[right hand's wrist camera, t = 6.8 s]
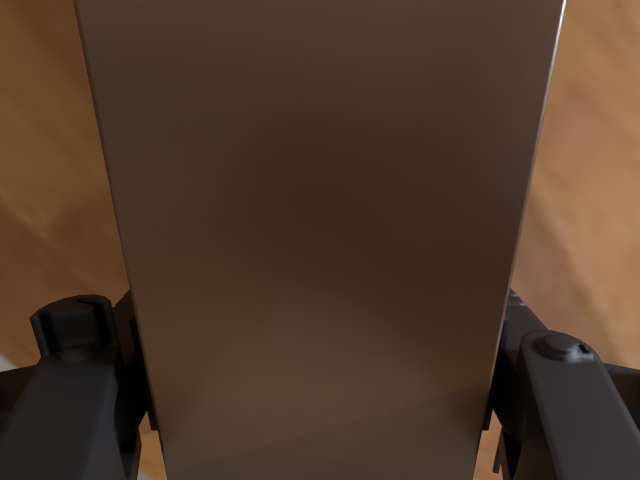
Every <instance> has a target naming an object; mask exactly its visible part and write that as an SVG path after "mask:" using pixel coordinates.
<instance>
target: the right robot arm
mask: <svg viewBox="0 0 640 480" xmlns="http://www.w3.org/2000/svg"><path fill="white" fill-rule="evenodd" d="M30 321H31V325H32V328H33V331H34V334H35V337H36V341H37V344H38V347H39V350H40V354H41V358H40V360H39V362H38V364H37V365H33V366H28V367H23V368H18V369H13V370H8V371H3V372H0V480H137V476H138V468H139V461H140V454H141V446H142V445H141V438H140V433H139V428H138V427H139V425H140V423H141V421H142V419H143V417H144V415H145V413H146V411H147V412H148V417H149V422H150V426H151V430H158V429H157V424H156V419H155V414H154V409H153V403H152V398H151V393H150V388H149V383H148V378H147V373H146V368H145V363H144V358H143V352H142V347H141V342H140V337H139V332H138V327H137V322H136V317H135V312H134V307H133V302H132V296H131V291H130V289H129V290H128V292H127V293H126V294H125V295H124V297H123V298H121V299H120V300H119V302H118V303H117V304H116V307H113V308H112V305H111V301H110V300H109V299H107V298H106V297H105V296H99V295H78V296H73V297H68V298H64V299H61V300H58V301H56V302H53V303H50V304H48V305H46V306H45V307H43V308H41V309H39V310H37V311H36V312H35V313H34V314H33V315H32V316H31V317H30ZM492 410H494V412H495V414H496V415H497V417H498V419H499V421H500V423H501V425H502V428H501V433H500V437H499V442H498V446H497V451H496V456H495V460H494V465H493V473H499V468H500V465H501V467H502V475H503V480H640V370H637V369H632V368H627V367H621V366H616V365H611V364H606V363H602V361H601V359H600V357H599V356H598V354H597V353H596V352H595V351H594V350H593V349H592V347H590V346H589V345H587V344H586V343H584V342H583V341H581V340H579V339H577V338H575V337H572V336H570V335H567V334H565V333H560V332H556V331H552V330H548V329H547V328H546V327H545V326H544V324H543V323H542V322H541V321H540V320H539V319H538V318H537V317H536V316H535V314H534V313H533V312H532V311H531V310H530V309H529V308H528V307H527V306H525V305H524V302H523V301H522V300H521V299H520V298H519V297H517V296H516V293H515V292H514V291H513V290H512V289H511V288H510V291H509V296H508V301H507V306H506V311H505V316H504V321H503V326H502V331H501V337H500V342H499V347H498V352H497V357H496V362H495V367H494V372H493V377H492V382H491V387H490V393H489V398H488V403H487V408H486V413H485V418H484V423H483V428H482V430H489V425H490V420H491V415H492Z"/></svg>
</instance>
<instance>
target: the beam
mask: <svg viewBox="0 0 640 480" xmlns="http://www.w3.org/2000/svg"><path fill="white" fill-rule="evenodd" d="M73 1H74V6H75V11H76V16H77V21H78V26H79V32H80V37H81V42H82V47H83V52H84V57H85V62H86V67H87V72H88V77H89V82H90V88H91V93H92V98H93V103H94V108H95V113H96V118H97V123H98V128H99V133H100V139H101V144H102V149H103V154H104V159H105V164H106V169H107V174H108V179H109V184H110V189H111V195H112V200H113V205H114V210H115V215H116V220H117V225H118V230H119V235H120V240H121V245H122V251H123V256H124V261H125V266H126V271H127V276H128V281H129V286H130V291H131V296H132V302H133V307H134V312H135V317H136V322H137V327H138V332H139V337H140V342H141V347H142V352H143V358H144V363H145V368H146V373H147V378H148V383H149V388H150V393H151V398H152V403H153V409H154V414H155V419H156V424H157V429H158V434H159V439H160V444H161V449H162V454H163V459H164V465H165V470H166V475H167V480H472V479H473V474H474V469H475V464H476V459H477V454H478V449H479V443H480V438H481V433H482V428H483V423H484V418H485V413H486V408H487V403H488V398H489V393H490V387H491V382H492V377H493V372H494V367H495V362H496V357H497V352H498V347H499V342H500V337H501V331H502V326H503V321H504V316H505V311H506V306H507V301H508V296H509V291H510V286H511V281H512V275H513V270H514V265H515V260H516V255H517V250H518V245H519V240H520V235H521V230H522V225H523V219H524V214H525V209H526V204H527V199H528V194H529V189H530V184H531V179H532V174H533V169H534V163H535V158H536V153H537V148H538V143H539V138H540V133H541V128H542V123H543V118H544V113H545V107H546V102H547V97H548V92H549V87H550V82H551V77H552V72H553V67H554V62H555V57H556V52H557V46H558V41H559V36H560V31H561V26H562V21H563V16H564V11H565V6H566V1H567V0H73Z"/></svg>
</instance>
